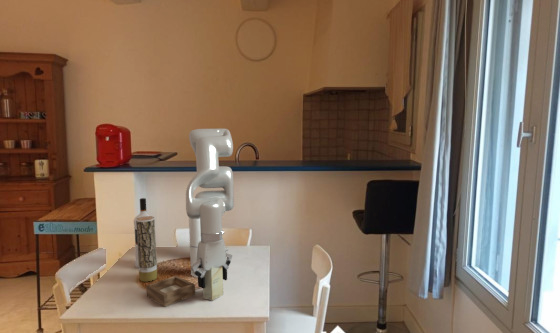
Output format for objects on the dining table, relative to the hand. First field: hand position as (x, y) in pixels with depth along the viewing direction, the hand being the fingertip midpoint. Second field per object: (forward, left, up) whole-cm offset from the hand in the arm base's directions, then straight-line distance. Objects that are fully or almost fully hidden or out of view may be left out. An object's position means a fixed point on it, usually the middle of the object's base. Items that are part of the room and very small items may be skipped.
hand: (213, 283), depth 142 cm
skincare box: (0, 0, -5) cm, 5 cm away
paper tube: (+8, -32, -5) cm, 34 cm away
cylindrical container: (-9, -21, -5) cm, 24 cm away
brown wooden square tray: (+10, -12, -5) cm, 17 cm away
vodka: (+1, -47, -5) cm, 48 cm away
